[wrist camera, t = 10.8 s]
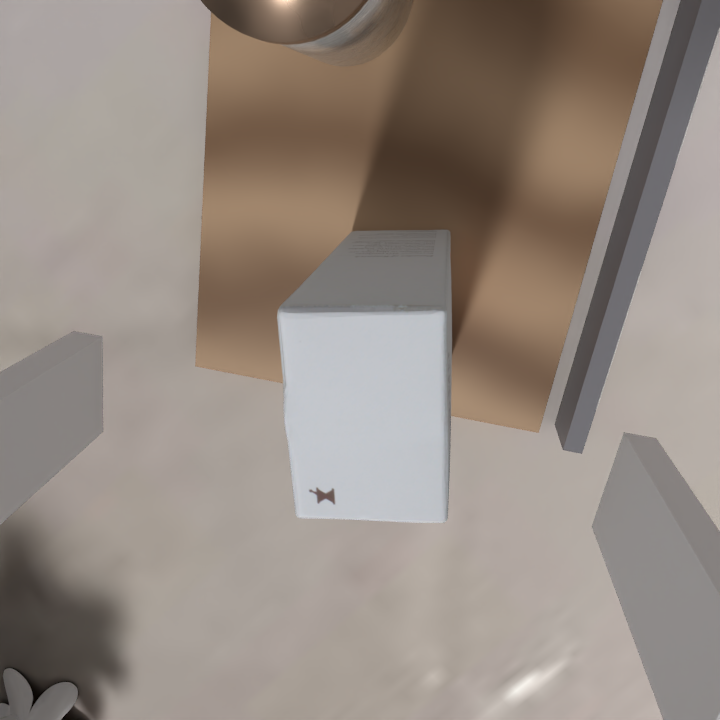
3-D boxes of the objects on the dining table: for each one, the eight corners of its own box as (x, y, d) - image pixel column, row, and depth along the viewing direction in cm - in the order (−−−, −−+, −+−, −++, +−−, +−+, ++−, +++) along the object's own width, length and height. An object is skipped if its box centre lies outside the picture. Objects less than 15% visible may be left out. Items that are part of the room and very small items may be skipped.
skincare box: (452, 363, 27) (449, 532, 16) (356, 363, 28) (289, 524, 17) (453, 223, 25) (451, 306, 14) (349, 225, 26) (267, 307, 15)
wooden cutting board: (535, 420, 29) (538, 432, 28) (204, 357, 30) (195, 366, 29) (680, -92, 21) (692, -104, 20) (230, -148, 23) (218, -162, 21)
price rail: (575, 428, 29) (585, 454, 26) (554, 424, 29) (563, 450, 26) (736, -86, 21) (768, -110, 19) (707, -89, 21) (736, -114, 19)
